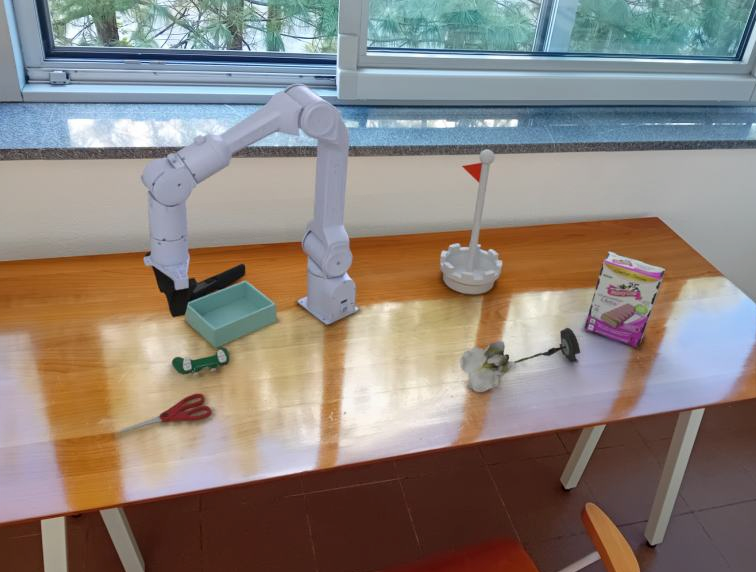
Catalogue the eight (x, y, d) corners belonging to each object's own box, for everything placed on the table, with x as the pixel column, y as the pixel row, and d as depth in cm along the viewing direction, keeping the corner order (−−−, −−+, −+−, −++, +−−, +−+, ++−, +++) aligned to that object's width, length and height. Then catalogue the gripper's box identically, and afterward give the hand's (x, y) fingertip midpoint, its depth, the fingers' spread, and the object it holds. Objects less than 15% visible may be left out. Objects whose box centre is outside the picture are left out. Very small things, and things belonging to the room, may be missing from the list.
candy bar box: (583, 331, 145) (601, 261, 136) (589, 318, 149) (607, 249, 140) (639, 350, 141) (661, 279, 133) (644, 336, 145) (666, 267, 137)
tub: (276, 321, 138) (276, 304, 136) (215, 348, 130) (213, 330, 128) (246, 297, 144) (245, 280, 142) (186, 321, 135) (184, 303, 133)
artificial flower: (583, 378, 134) (596, 348, 127) (468, 406, 129) (474, 376, 122) (563, 339, 140) (574, 308, 132) (452, 365, 134) (457, 333, 127)
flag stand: (509, 277, 159) (533, 150, 143) (480, 304, 149) (502, 170, 133) (457, 256, 164) (475, 131, 148) (426, 281, 155) (441, 149, 139)
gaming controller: (175, 380, 124) (178, 377, 119) (170, 358, 125) (173, 354, 120) (229, 368, 128) (234, 364, 123) (224, 346, 129) (230, 342, 124)
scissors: (213, 416, 116) (212, 411, 115) (121, 446, 109) (120, 442, 108) (201, 395, 119) (201, 390, 119) (112, 423, 112) (111, 418, 112)
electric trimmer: (250, 280, 149) (250, 266, 147) (186, 310, 138) (185, 296, 136) (238, 272, 151) (237, 259, 149) (174, 302, 140) (172, 288, 138)
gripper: (132, 215, 120) (137, 284, 127) (153, 258, 110) (158, 331, 117) (176, 210, 124) (179, 277, 131) (201, 251, 113) (202, 322, 120)
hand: (172, 302), depth 124 cm, fingers open, 7 cm apart
